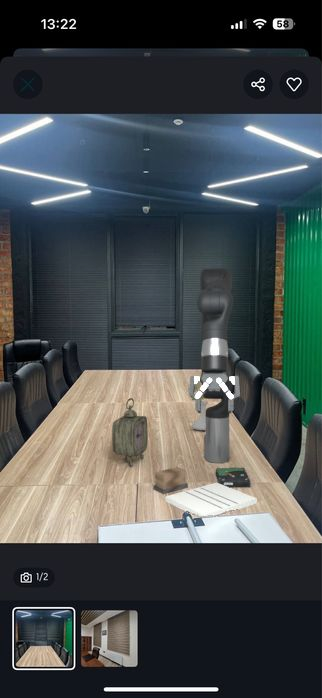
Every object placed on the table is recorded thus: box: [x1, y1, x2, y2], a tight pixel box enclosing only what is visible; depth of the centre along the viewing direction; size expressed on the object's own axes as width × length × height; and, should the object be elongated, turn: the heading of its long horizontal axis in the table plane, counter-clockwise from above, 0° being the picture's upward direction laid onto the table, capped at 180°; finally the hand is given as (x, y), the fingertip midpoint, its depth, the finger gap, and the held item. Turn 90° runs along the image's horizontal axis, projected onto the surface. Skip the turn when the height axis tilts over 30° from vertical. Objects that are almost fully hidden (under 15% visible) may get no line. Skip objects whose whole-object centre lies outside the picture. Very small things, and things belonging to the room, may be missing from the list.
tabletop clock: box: [111, 397, 149, 468], centre depth 193 cm, size 14×9×25 cm, turn 160°
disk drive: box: [215, 467, 251, 489], centre depth 172 cm, size 10×3×15 cm
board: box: [164, 482, 258, 516], centre depth 152 cm, size 18×21×2 cm
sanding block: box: [152, 466, 189, 495], centre depth 164 cm, size 10×6×6 cm, turn 126°
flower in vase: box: [187, 381, 209, 431], centre depth 247 cm, size 13×11×25 cm
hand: (214, 413), depth 140 cm, fingers open, 8 cm apart
